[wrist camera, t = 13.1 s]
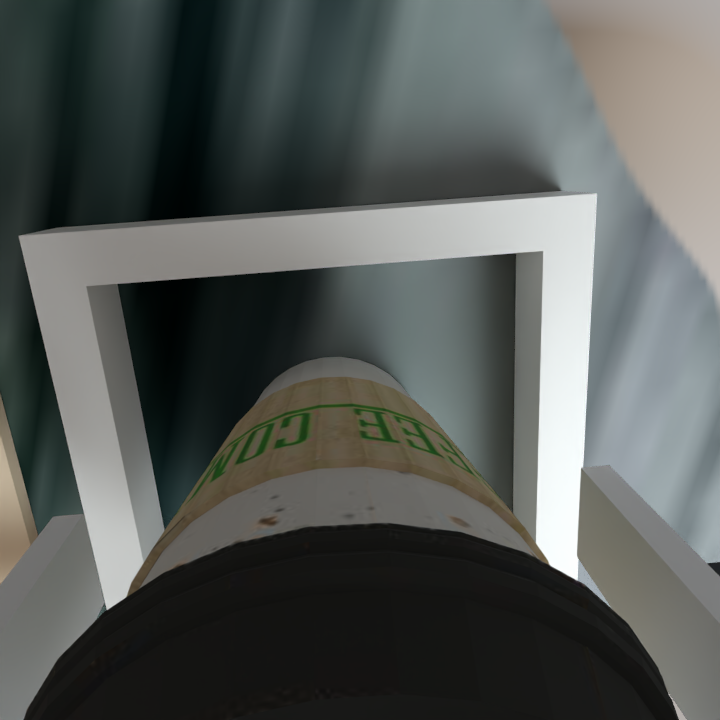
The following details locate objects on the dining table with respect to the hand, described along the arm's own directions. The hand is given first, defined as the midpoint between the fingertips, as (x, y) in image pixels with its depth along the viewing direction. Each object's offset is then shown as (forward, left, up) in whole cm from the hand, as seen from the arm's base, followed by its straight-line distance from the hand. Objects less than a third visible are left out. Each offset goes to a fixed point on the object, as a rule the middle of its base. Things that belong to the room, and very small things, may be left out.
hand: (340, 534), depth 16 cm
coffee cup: (0, 0, -6) cm, 6 cm away
